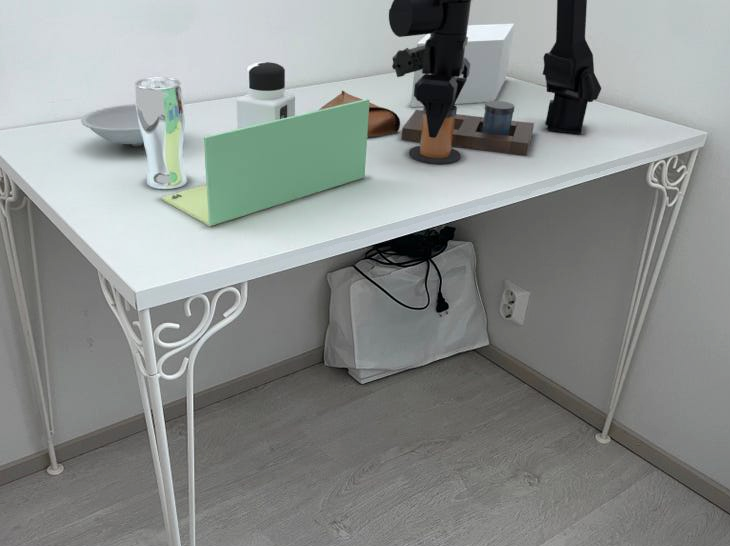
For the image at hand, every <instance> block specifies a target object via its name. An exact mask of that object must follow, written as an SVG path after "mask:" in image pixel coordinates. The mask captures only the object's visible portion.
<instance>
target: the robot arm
mask: <svg viewBox="0 0 730 546" xmlns="http://www.w3.org/2000/svg"><path fill="white" fill-rule="evenodd" d="M471 4H472V0H393V1H392V3H391V5H390V8H389V9H388V23H389V28H390V29H391V32H392V33H393V34H394V35H395V36H396V37H399V38H404V37H412V36H413V37H414V36H422V35H427V34H431V35H430V38H429V39H428V40H427V41H426V43H425V45H424V46H419V47H417V46H416V47H412V48H408V47H406V48H405V49H402V50H401V49H399V50H398V51H397V52H396V53H395V54H394V56H393V57H391V58H392V66H391V67H392V69H393V70H394V71H395V75H396V77H397V78H401V77H404V76H405V75H407V74H410V73H414V72H415V71H418V70H421V69H422V74H425V75H423V76H422V77H421V78H420V79H419V80H418V81H417V82H416V84H415V88H414V97H416V99H417V101H420V102H421V103H422V104H423V105H424V106H423V107H425V110H426V117H427V124H428V131H429V137H432V138H436V136H437V134H438V132H439V130H440V128H441V126H442V124H443V122H444V120H445V118H446V116H447V114H448V112H449V110H450V108H451V106H452V104H453V105H456V104H455V102H456V100H457V98H458V96H459V94H460V92H461V90H462V88H463V86H464V84H465V82H466V80H467V79H466V78H467V77H468V75H469V70H470V63H469V62H468V60H467V59H466V58H464V52H465V46H466V45H467V41H468V37H466V36H467V28H468V25H469V20H470V13H471ZM587 6H588V0H556V25H555V26H556V30H555V33H556V34H555V43H554V44H553V45H552V46H551V49H550V51H549V52H545V53H544V55H543V57H542V58H543V71H542V75H543V76H544V78H545V79H544V80H545V83H546V92H547V93H551V94H554V96H553V99H550V100H549V104H548V108H547V113H546V119H545V125H546V126H547V127H546V130H547V131H551V132H559V133H569V134H576V135H582V133H583V124H584V121H585V116H586V113H587V107H588V103H593V101H595V100H597V99H598V98H599V95H600V93H601V91H602V86H601V84H600V82H599V80H598V78H597V75H596V74H595V65H594V54H593V51H592V50H591V48H590V46H589V43H588V41H587V40H586V29H587V28H586V27H587ZM430 74H431V75H430ZM461 74H463V78H460V77H459V76H460V75H461Z"/></svg>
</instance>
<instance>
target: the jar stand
mask: <svg viewBox="0 0 730 546" xmlns="http://www.w3.org/2000/svg"><path fill="white" fill-rule="evenodd" d="M483 120H484V116H476V115H467V114H459V113H456V116H455V123H454V131H453V139H452V147H454V148H455V147H456V148H463V149H471V150H478V151H487V152H495V153H503V154H510V155H517V156H518V155H519V156H527V155H528V152H529V149H530V144H531V141H532V138H533V132H534V128H535V127H534V126H535V123H534V122H527V121H518V120H512V122H511V127H510V133H509V136H506V135H497V134H489V133H482V127H483ZM422 122H423V109H416V110H415V111H414V112H413V113H412V114H411V115H410V117H409V119H408V120H407V121H406V123H405V124H404V125H403V126H402V129H401V138H400V140H401V141H405V142H406V141H407V142H415V143H420V141H421V132H422Z"/></svg>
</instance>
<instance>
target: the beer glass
mask: <svg viewBox="0 0 730 546" xmlns="http://www.w3.org/2000/svg"><path fill="white" fill-rule="evenodd" d="M134 87H135V88H134V92H135V93H134V94H135V104H136V113H137V120H138V125H139V129H140V133H141V137H142V140H143V143H142V145H143V147H144V151H145V153H146V161H147V173H146V183H147V185H148V186H149V187H151V188H153V189H157V190H174V189H178V188H181V187H183V186H185V185H186V184H187V181H188V179H187V175H186V171H185V167H184V160H183V151H184V150H183V148H184V139H185V127H186V126H185V125H186V124H185V123H186V116H185V105H184V104H185V103H184V98H183V90H182V82H181V81H180V80H179V79H178V78H173V77H167V76H166V77H165V76H153V77H146V78H140V79H138V80H136V81H135V82H134Z"/></svg>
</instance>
